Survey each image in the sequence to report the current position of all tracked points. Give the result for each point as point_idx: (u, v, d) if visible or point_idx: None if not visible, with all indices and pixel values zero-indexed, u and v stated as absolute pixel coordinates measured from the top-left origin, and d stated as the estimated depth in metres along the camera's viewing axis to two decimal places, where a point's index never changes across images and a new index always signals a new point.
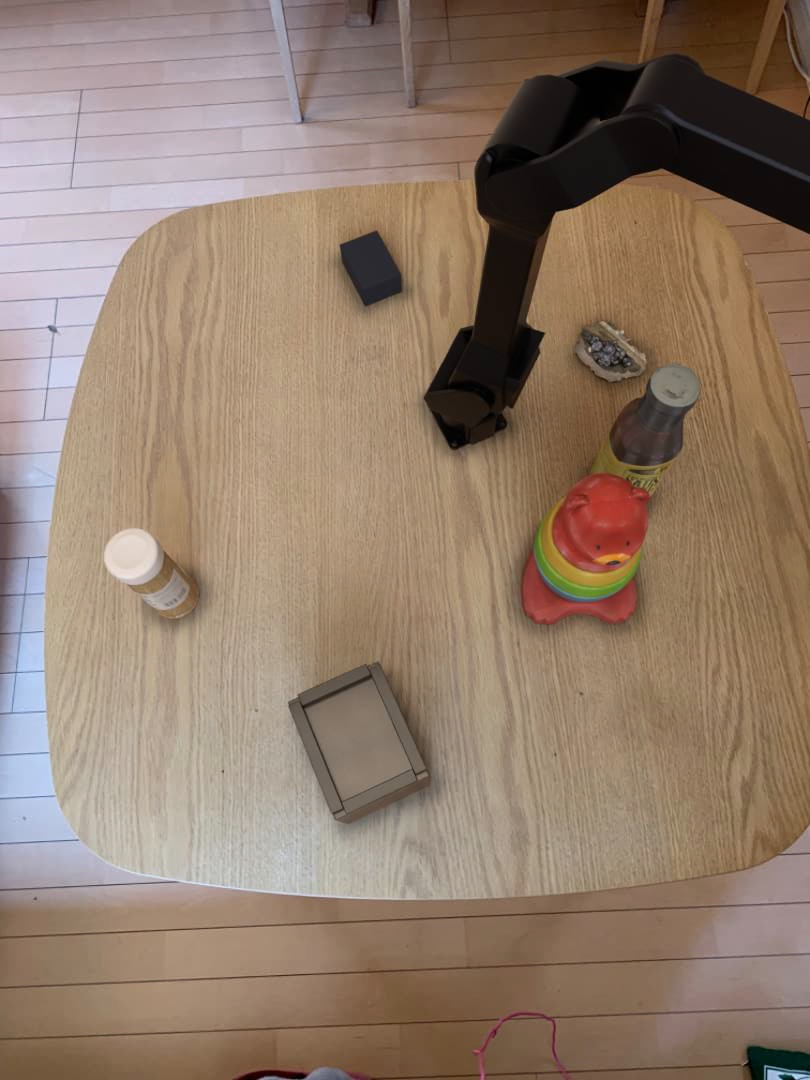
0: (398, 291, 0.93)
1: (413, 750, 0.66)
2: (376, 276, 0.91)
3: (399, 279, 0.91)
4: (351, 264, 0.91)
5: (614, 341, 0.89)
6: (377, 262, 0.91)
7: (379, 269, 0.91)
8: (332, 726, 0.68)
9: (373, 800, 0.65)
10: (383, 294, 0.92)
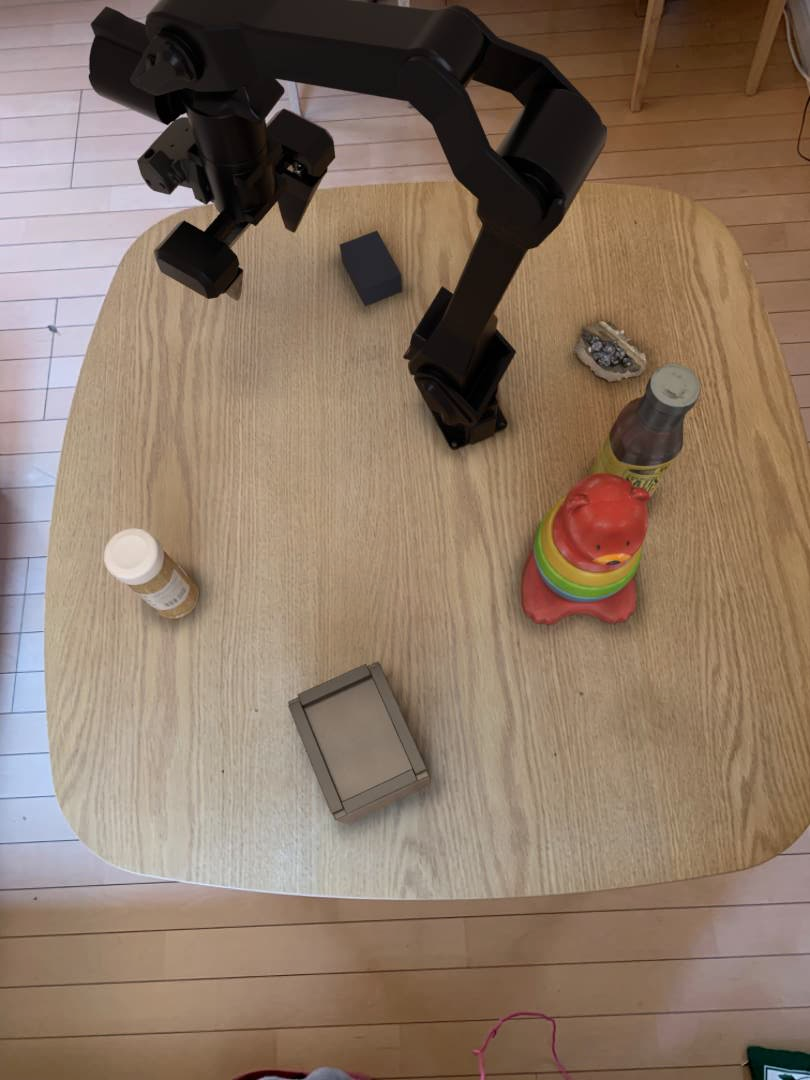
0: (398, 291, 0.93)
1: (413, 750, 0.66)
2: (376, 276, 0.91)
3: (399, 279, 0.91)
4: (351, 264, 0.91)
5: (614, 341, 0.89)
6: (377, 262, 0.91)
7: (379, 269, 0.91)
8: (332, 726, 0.68)
9: (373, 800, 0.65)
10: (383, 294, 0.92)
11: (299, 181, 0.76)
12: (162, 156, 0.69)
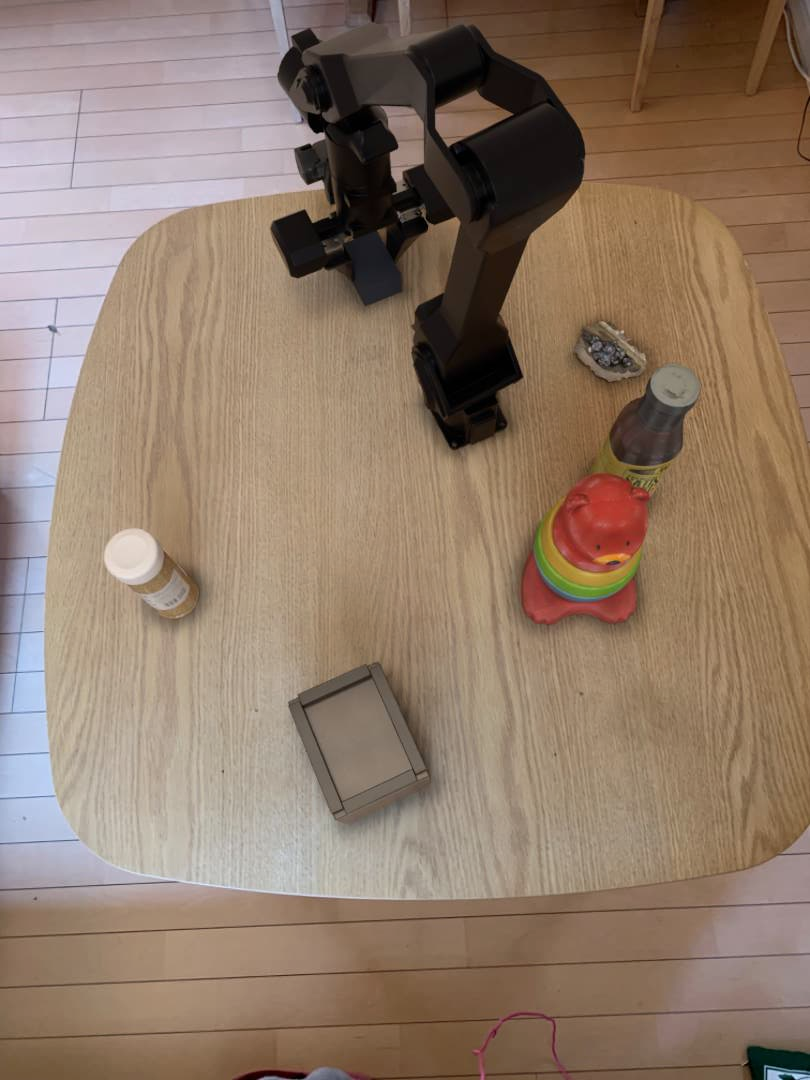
0: (398, 291, 0.93)
1: (413, 750, 0.66)
2: (376, 276, 0.91)
3: (399, 279, 0.91)
4: None
5: (614, 341, 0.89)
6: (377, 262, 0.91)
7: (379, 269, 0.91)
8: (332, 726, 0.68)
9: (373, 800, 0.65)
10: (383, 294, 0.92)
11: (399, 229, 0.87)
12: (313, 154, 0.83)
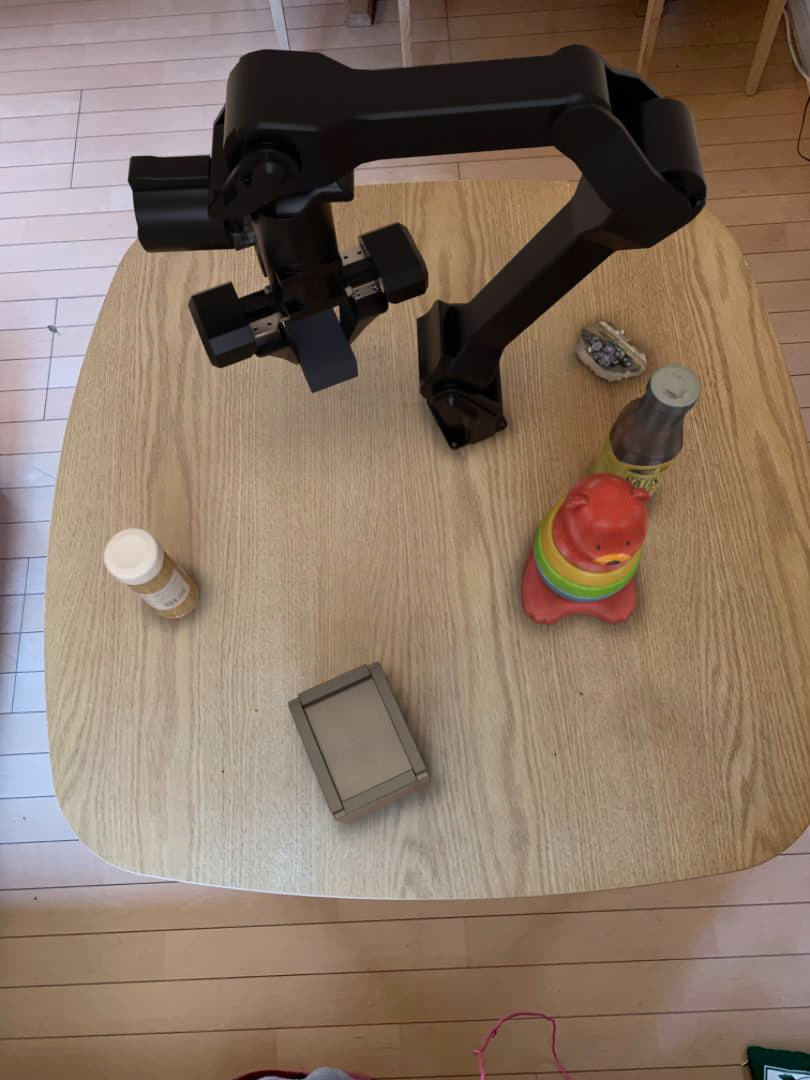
0: (353, 376, 0.76)
1: (413, 750, 0.66)
2: (325, 359, 0.73)
3: (354, 363, 0.74)
4: (295, 343, 0.74)
5: (614, 341, 0.89)
6: (327, 341, 0.74)
7: (329, 350, 0.74)
8: (332, 726, 0.68)
9: (373, 800, 0.65)
10: (334, 380, 0.75)
11: (352, 307, 0.69)
12: None
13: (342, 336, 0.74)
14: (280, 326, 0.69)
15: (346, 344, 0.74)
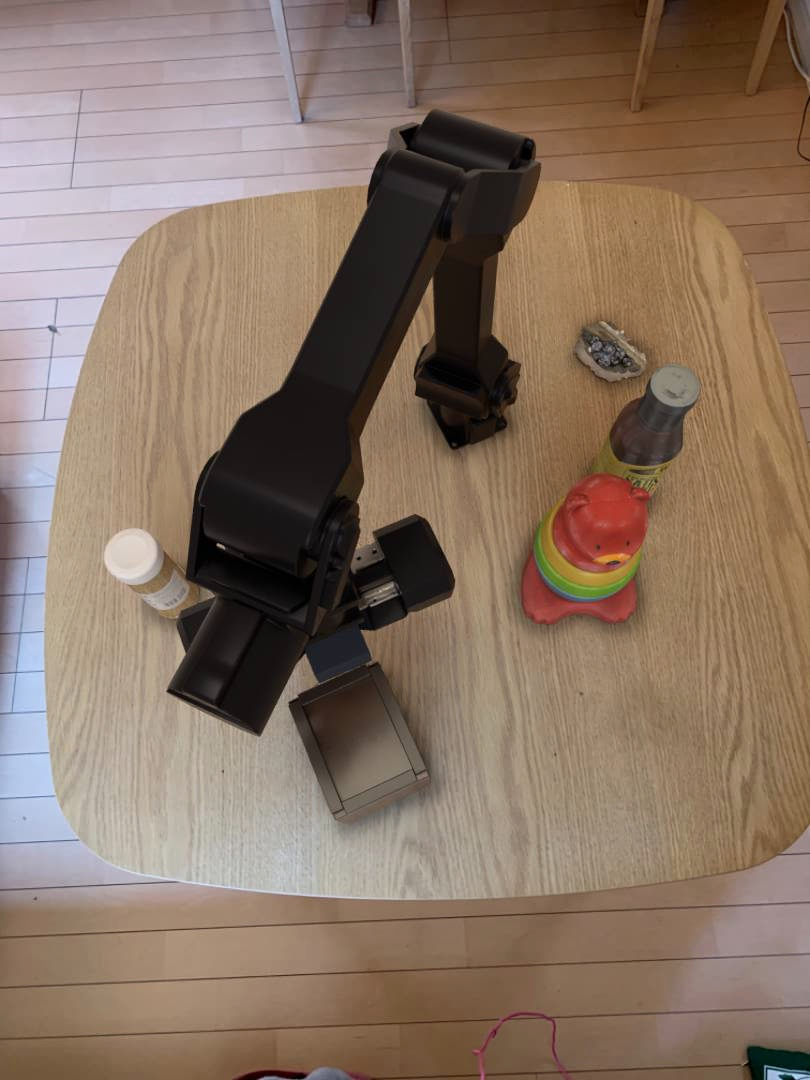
0: (366, 662, 0.66)
1: (413, 750, 0.66)
2: (335, 653, 0.64)
3: (367, 655, 0.65)
4: None
5: (614, 341, 0.89)
6: None
7: (339, 642, 0.64)
8: (332, 726, 0.68)
9: (373, 800, 0.65)
10: (345, 670, 0.66)
11: (366, 614, 0.60)
12: None
13: None
14: None
15: (358, 634, 0.65)
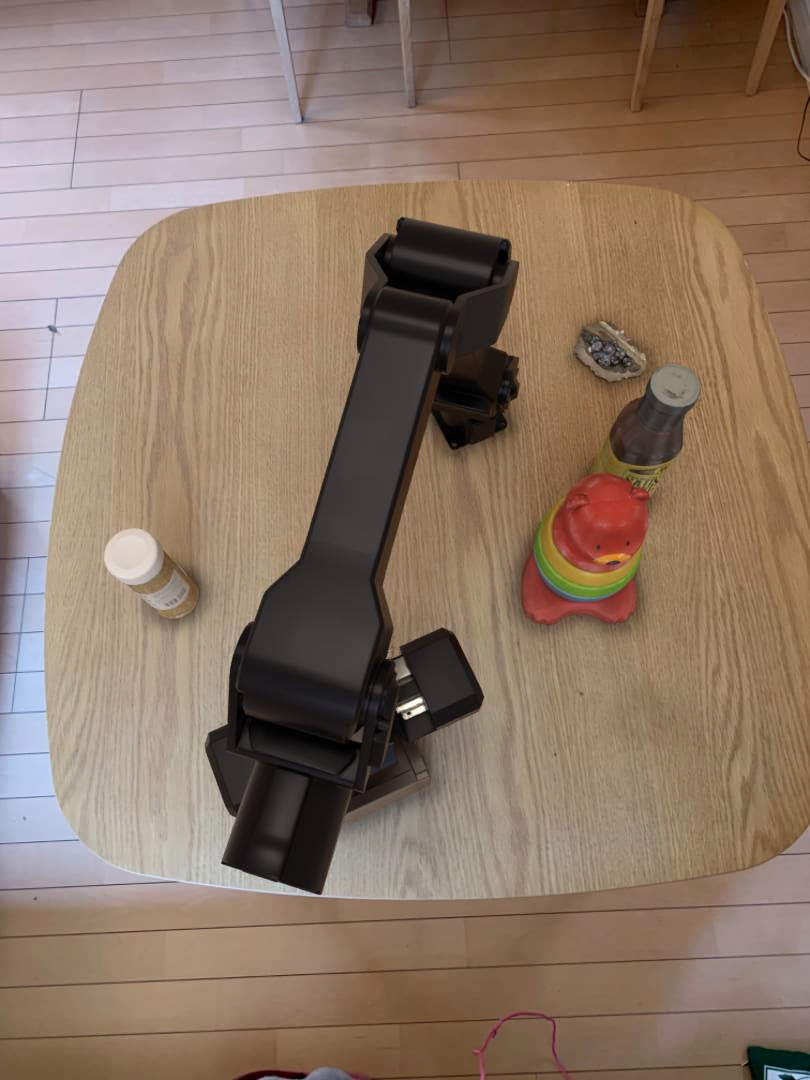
0: (393, 764, 0.66)
1: (413, 750, 0.66)
2: None
3: (394, 760, 0.64)
4: None
5: (614, 341, 0.89)
6: None
7: None
8: None
9: (373, 800, 0.65)
10: (372, 773, 0.65)
11: (401, 726, 0.60)
12: None
13: None
14: None
15: None
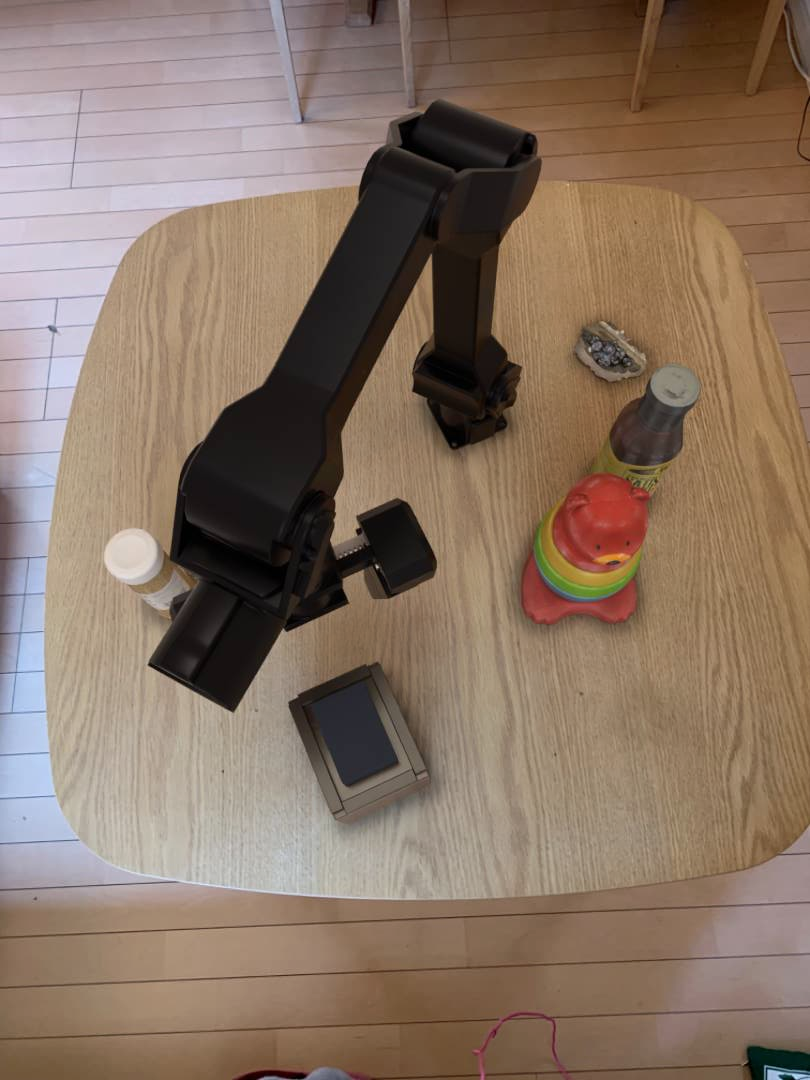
0: (393, 764, 0.66)
1: (413, 750, 0.66)
2: (362, 760, 0.64)
3: (394, 760, 0.64)
4: (326, 740, 0.64)
5: (614, 341, 0.89)
6: (363, 736, 0.64)
7: (366, 748, 0.64)
8: None
9: (373, 800, 0.65)
10: (372, 773, 0.65)
11: (380, 583, 0.62)
12: None
13: (380, 729, 0.64)
14: None
15: (385, 739, 0.64)
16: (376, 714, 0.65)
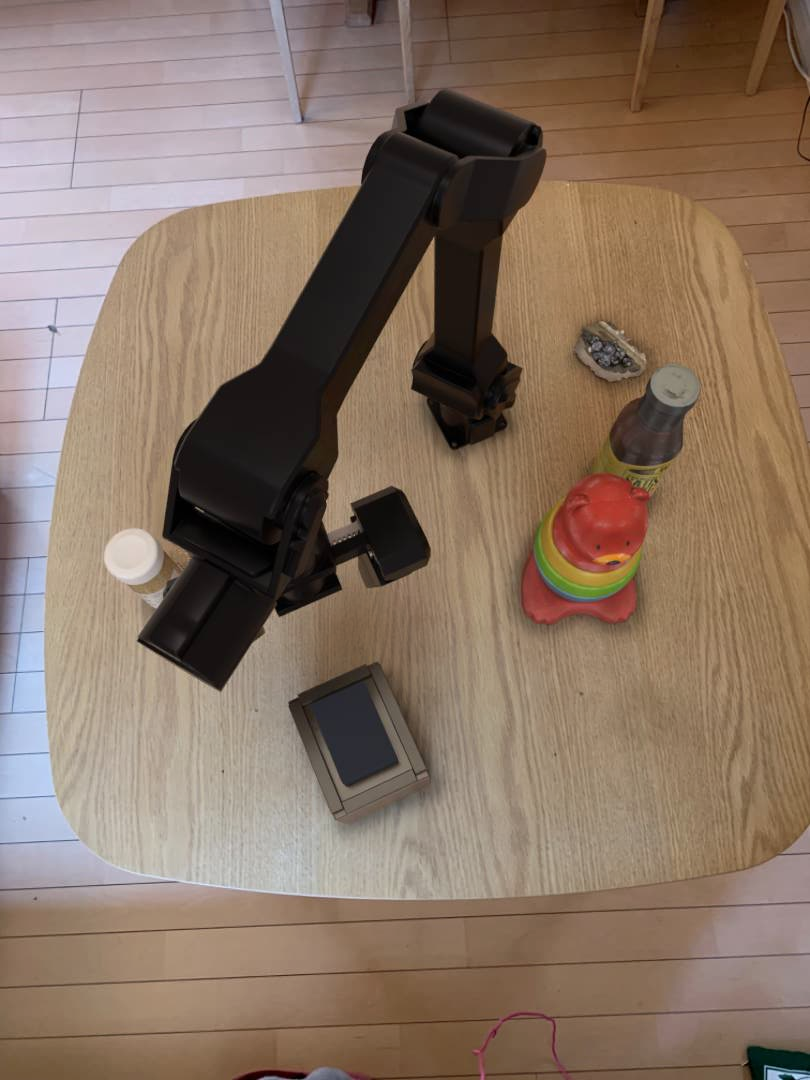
0: (393, 764, 0.66)
1: (413, 750, 0.66)
2: (362, 760, 0.64)
3: (394, 760, 0.64)
4: (326, 740, 0.64)
5: (614, 341, 0.89)
6: (363, 736, 0.64)
7: (366, 748, 0.64)
8: None
9: (373, 800, 0.65)
10: (372, 773, 0.65)
11: (374, 570, 0.63)
12: None
13: (380, 729, 0.64)
14: None
15: (385, 739, 0.64)
16: (376, 714, 0.65)
